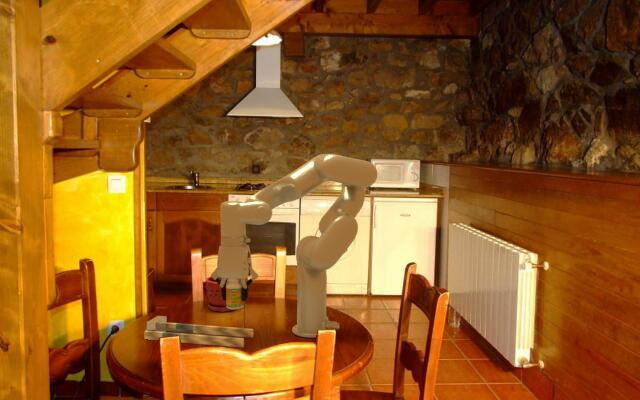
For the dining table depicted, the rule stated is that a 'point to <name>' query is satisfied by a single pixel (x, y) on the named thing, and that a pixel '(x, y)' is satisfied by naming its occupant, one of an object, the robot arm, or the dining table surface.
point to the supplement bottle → (234, 294)
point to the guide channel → (160, 327)
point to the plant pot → (215, 296)
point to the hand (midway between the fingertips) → (235, 299)
